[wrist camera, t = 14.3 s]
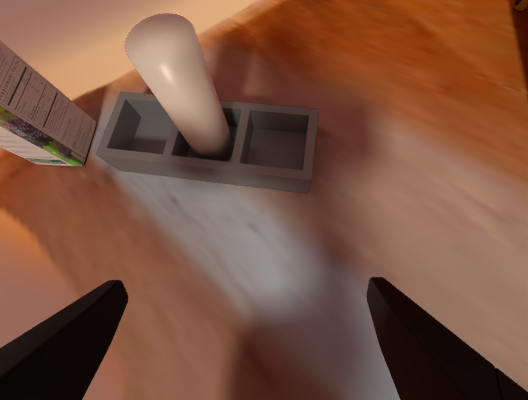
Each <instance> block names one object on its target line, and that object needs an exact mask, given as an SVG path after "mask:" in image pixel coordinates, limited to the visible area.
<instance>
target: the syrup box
mask: <svg viewBox="0 0 528 400" xmlns="http://www.w3.org/2000/svg"><path fill="white" fill-rule="evenodd" d="M95 126H96V121H95V120H93V119H92V118H91V117H90V116H89V115H88V114H86V113H85V112H84V111H83V110H82V109H80V108H79V107H78V106H77V105H76V104H75V103H74V102H72V101H71V100H70V99H69V98H67V97H66V96H65V95H64V94H63V93H62V92H60V91H59V90H58V89H57V88H56V87H54V86H53V85H52V84H51V83H50V82H49V81H48V80H46V79H45V78H44V77H42V75H40V74H39V73H38V72H37V71H35V70H34V69H33V68H32V67H31V66H30V65H28V64H27V63H26V62H25V61H24V60H23V59H21V58H20V57H19V56H18V55H17V54H16V53H14V52H13V51H12V50H11V49H10V48H8V47H7V46H6V45H5V44H4V43H3V42H1V41H0V147H1V148H3V149H6V150H8V151H10V152H12V153H14V154H17V155H19V156H21V157H23V158H25V159H27V160H30V161H32V162H34V163H36V164H47V165H62V166H83V165H84V162H85V159H86V156H87V153H88V150H89V147H90V143H91V140H92V137H93V133H94V130H95Z"/></svg>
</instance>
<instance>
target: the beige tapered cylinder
mask: <svg viewBox="0 0 528 400" xmlns="http://www.w3.org/2000/svg"><path fill="white" fill-rule="evenodd" d="M125 51H126V54H127V56H128V58H129V59H130V61H131V62H132V63H133V65H134V66H135V68H136V69H137V71H138V72H139V74H140V75H141V76H142V78H143V79H144V81H145V82H146V84H147V85H148V87H149V88H150V89H151V91H152V92H153V94H154V95H155V97H156V98H157V99H158V101H159V102H160V104H161V105H162V107H163V108H164V109H165V111H166V112H167V114H168V115H169V117H170V118H171V119H172V121H173V122H174V124H175V125H176V127H177V128H178V129H179V131H180V132H181V134H182V135H183V137H184V138H185V139H186V141H187V142H188V144H189V145H190V147H191V148H192V149H193V151H194V152H195V154H196V155H197V157H198V158H199V159H207V160H216V161H225V162H226V161H228V160H229V159H230V158H231V156H232V153H233V149H234V141H233V139H232V136H231V133H230V130H229V127H228V124H227V121H226V118H225V116H224V113H223V110H222V107H221V104H220V101H219V98H218V96H217V93H216V90H215V87H214V84H213V81H212V78H211V76H210V73H209V70H208V67H207V64H206V61H205V58H204V55H203V53H202V50H201V47H200V44H199V41H198V38H197V35H196V33H195V30H194V27H193V25H192V24H191V23H190V21H188V20H187V19H186V18H184V17H182V16H180V15H176V14H158V15H154V16H151V17H148V18H146V19H145V20H143V21H141V22H139V23H138V24H137V25H136V26H135V27H134V28H133V29H132V30H131V31H130V32H129V34H128V36H127V38H126V41H125Z"/></svg>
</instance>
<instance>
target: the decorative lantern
mask: <svg viewBox="0 0 528 400" xmlns="http://www.w3.org/2000/svg"><path fill="white" fill-rule="evenodd" d="M514 8H515V9H516V10H517V11H521V10H524V9H526V8H528V0H516V2H515V4H514Z"/></svg>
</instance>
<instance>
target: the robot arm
mask: <svg viewBox="0 0 528 400" xmlns="http://www.w3.org/2000/svg"><path fill="white" fill-rule="evenodd" d="M367 302H368V305H369V309H370V313H371V316H372V320H373V324H374V327H375V331H376V334H377V338H378V341H379V345H380V348H381V351H382V353H383V356H384V358H385V361H386V364H387V366H388V369H389V371H390V374H391V376H392V379H393V382H394V384H395V387H396V389H397V392H398V394H399V397H400V399H401V400H528V392H527V391H526V390H525V389H523V388H522V387H521V386H519V385H518V384H517V383H515V382H514V381H513V380H512V379H510V378H509V377H508V376H507V375H505V374H504V373H503V372H502V371H500V370H499V369H498V368H495V367H494V365H493V364H491V363H490V362H489V361H488V360H486V359H485V358H484V357H483V356H481V355H480V354H479V353H478V352H476V351H475V350H474V349H473V348H471V347H470V346H469V345H468V344H466V343H465V342H464V341H463V340H461V339H460V338H459V337H457V336H456V335H455V334H454V333H452V332H451V331H450V330H449V329H447V328H446V327H445V326H444V325H442V324H441V323H440V322H439V321H437V320H436V319H435V318H434V317H432V316H431V315H430V314H429V313H427V312H426V311H425V310H424V309H422V308H421V307H420V306H419V305H417V304H416V303H415V302H414V301H412V300H411V299H410V298H409V297H407V296H406V295H405V294H403V293H402V292H401V291H400V290H398V289H397V288H396V287H395V286H393V285H392V284H391V283H390V282H388V281H387V280H386V279H385V278H383V277H372V278H370V280H369V285H368V290H367ZM127 303H128V294H127V292H126V289H125V287H124V285H123V282H122V281H121V280H109V281H107V282H105V283H104V284H102V285H100V286H99V287H97V288H96V289H94V290H92V291H91V292H89V293H88V294H86V295H84V296H83V297H81V298H80V299H78V300H76V301H75V302H73V303H72V304H70V305H69V306H67V307H65V308H64V309H62V310H61V311H59V312H57V313H56V314H54V315H53V316H51V317H50V318H48V319H46V320H45V321H43V322H42V323H40V324H38V325H37V326H35V327H33V328H32V329H31V330H29V331H27V332H25V333H24V334H22V335H21V336H19V337H18V338H16V339H14V340H13V341H11V342H9V343H8V344H6V345H5V346H3V347H1V348H0V400H82V399H83V397H84V395H85V393H86V391H87V389H88V387H89V385H90V383H91V381H92V379H93V377H94V375H95V373H96V372H97V370H98V368H99V366H100V364H101V362H102V360H103V358H104V356H105V354H106V352H107V350H108V348H109V346H110V344H111V342H112V339H113V337H114V335H115V332H116V330H117V327H118V325H119V322H120V320H121V317H122V315H123V313H124V310H125V308H126V305H127Z"/></svg>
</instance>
